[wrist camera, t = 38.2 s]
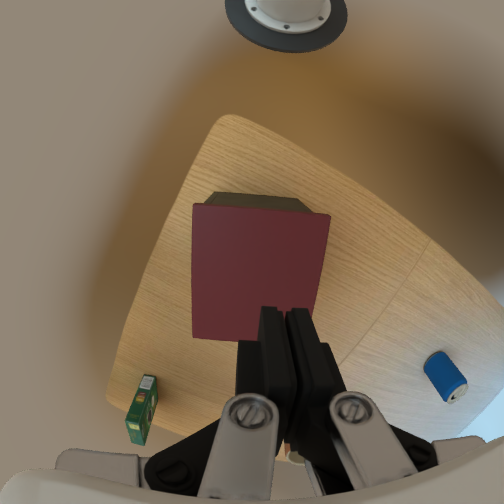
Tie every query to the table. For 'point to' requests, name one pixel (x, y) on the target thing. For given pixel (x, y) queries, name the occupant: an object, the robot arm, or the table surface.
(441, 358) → the beverage can
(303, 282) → the keepsake box lid
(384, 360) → the table surface
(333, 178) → the table surface
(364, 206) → the table surface
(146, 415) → the coffee box
